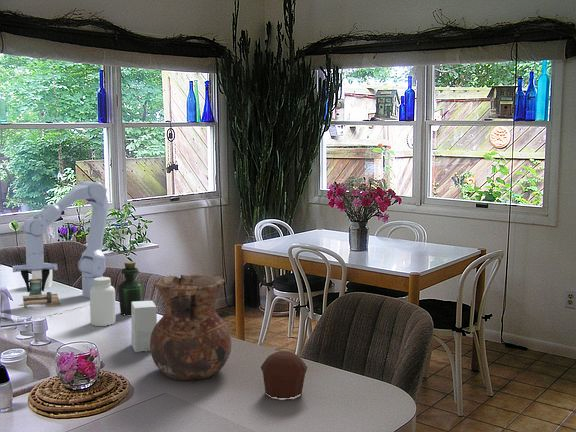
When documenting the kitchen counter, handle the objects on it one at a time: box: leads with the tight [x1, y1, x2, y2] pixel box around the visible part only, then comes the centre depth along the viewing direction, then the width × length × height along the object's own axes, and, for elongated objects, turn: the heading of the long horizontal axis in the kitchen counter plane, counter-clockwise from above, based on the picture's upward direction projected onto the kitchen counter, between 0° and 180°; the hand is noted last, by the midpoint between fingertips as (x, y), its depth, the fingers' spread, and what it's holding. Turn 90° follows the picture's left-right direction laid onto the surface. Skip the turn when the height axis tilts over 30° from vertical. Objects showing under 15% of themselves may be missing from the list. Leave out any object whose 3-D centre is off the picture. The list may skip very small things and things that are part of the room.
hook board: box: [22, 291, 62, 309], centre depth 242 cm, size 19×12×5 cm, turn 23°
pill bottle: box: [89, 276, 117, 327], centre depth 219 cm, size 8×8×15 cm
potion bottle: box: [117, 260, 143, 315], centre depth 232 cm, size 8×8×18 cm
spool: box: [28, 278, 43, 297], centre depth 235 cm, size 4×4×6 cm
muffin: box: [260, 350, 308, 398], centre depth 163 cm, size 12×11×10 cm
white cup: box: [31, 262, 53, 289], centre depth 265 cm, size 8×8×10 cm
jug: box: [149, 274, 233, 381], centre depth 175 cm, size 22×21×25 cm
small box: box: [130, 300, 158, 353], centre depth 195 cm, size 8×6×13 cm
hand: (35, 291), depth 235 cm, fingers closed on spool, 4 cm apart
